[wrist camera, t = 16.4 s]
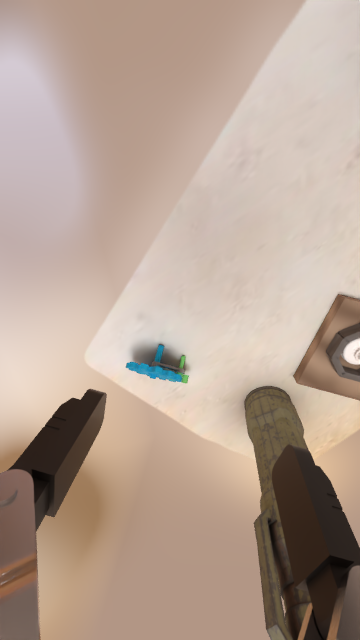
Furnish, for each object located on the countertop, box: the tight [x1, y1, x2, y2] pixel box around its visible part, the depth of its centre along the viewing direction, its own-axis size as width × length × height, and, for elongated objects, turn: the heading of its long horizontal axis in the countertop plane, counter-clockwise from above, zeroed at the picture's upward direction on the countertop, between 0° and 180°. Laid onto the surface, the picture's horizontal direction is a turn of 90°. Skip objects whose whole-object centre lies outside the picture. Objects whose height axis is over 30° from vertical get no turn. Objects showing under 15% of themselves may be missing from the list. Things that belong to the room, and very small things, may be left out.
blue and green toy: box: [126, 345, 189, 383], centre depth 43 cm, size 11×6×10 cm
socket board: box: [294, 294, 360, 400], centre depth 38 cm, size 16×12×4 cm
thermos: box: [245, 386, 311, 640], centre depth 31 cm, size 9×12×35 cm
